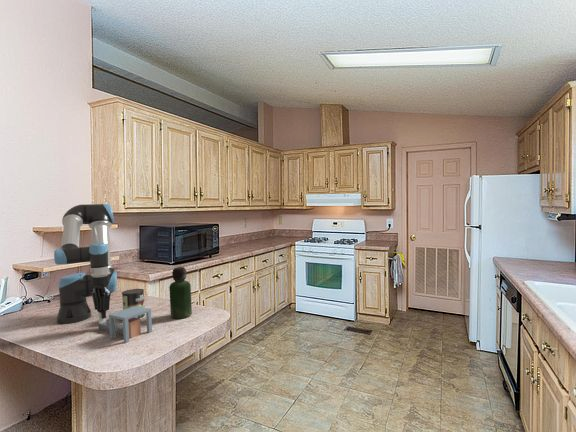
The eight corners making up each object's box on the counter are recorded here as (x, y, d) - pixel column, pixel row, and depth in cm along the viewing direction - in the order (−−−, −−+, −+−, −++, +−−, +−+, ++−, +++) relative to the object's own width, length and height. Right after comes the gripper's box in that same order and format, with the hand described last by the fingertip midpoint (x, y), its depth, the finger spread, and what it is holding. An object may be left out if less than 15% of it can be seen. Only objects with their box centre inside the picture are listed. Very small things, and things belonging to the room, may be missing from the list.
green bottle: (169, 320, 162) (167, 270, 162) (172, 313, 173) (170, 267, 172) (191, 318, 165) (188, 269, 164) (192, 311, 175) (190, 265, 174)
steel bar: (98, 330, 152) (98, 324, 152) (105, 327, 155) (105, 321, 155) (125, 335, 145) (125, 329, 144) (132, 332, 148) (131, 326, 148)
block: (123, 336, 144) (122, 320, 143) (133, 332, 148) (132, 317, 148) (131, 338, 141) (130, 322, 141) (140, 333, 146) (140, 318, 146)
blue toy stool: (110, 338, 142) (108, 314, 142) (136, 327, 153) (135, 306, 153) (126, 342, 137) (124, 318, 136) (152, 331, 148) (150, 308, 148)
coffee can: (149, 315, 172) (148, 288, 171) (136, 322, 162) (135, 294, 161) (132, 314, 174) (130, 288, 173) (118, 321, 164) (117, 293, 163)
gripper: (84, 276, 154) (86, 325, 155) (100, 278, 148) (103, 329, 148) (99, 273, 161) (102, 320, 161) (115, 275, 154) (118, 324, 155)
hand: (102, 324), depth 155 cm, fingers closed
